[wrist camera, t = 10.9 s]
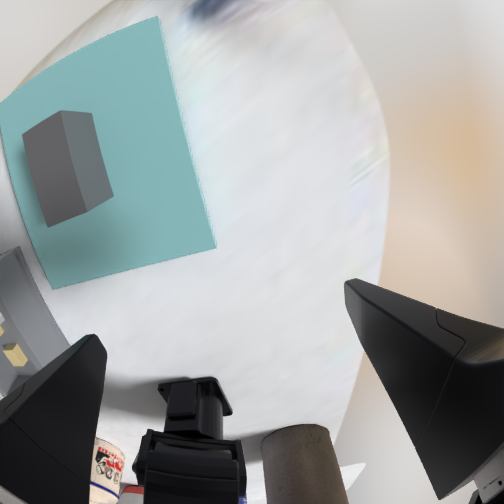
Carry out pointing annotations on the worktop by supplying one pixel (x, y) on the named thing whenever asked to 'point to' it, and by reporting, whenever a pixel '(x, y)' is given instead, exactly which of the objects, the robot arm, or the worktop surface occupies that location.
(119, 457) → the teacup with lid
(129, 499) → the citrus juicer
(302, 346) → the worktop surface
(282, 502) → the pillar candle
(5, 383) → the tub
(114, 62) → the lid
